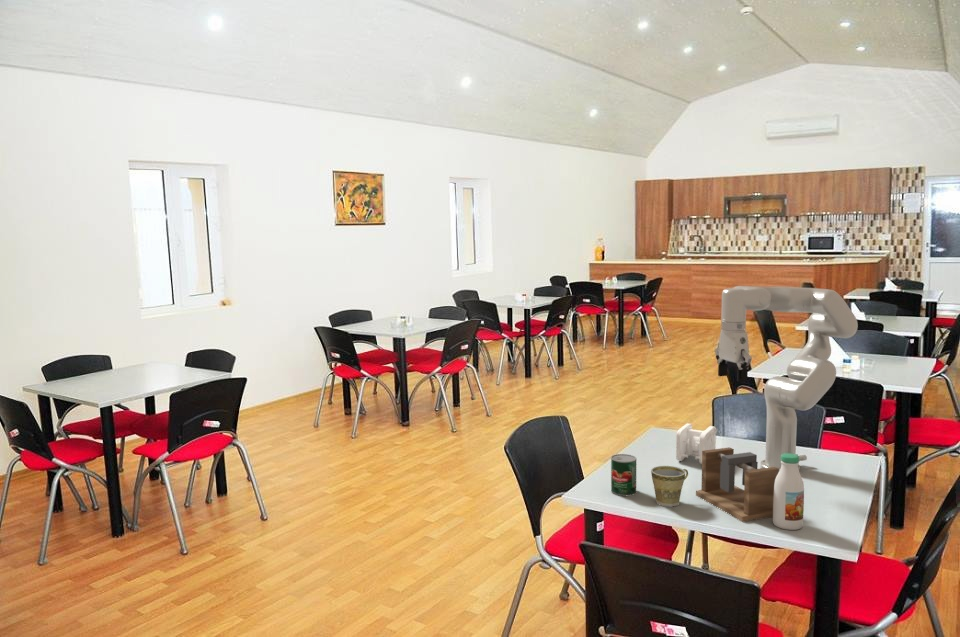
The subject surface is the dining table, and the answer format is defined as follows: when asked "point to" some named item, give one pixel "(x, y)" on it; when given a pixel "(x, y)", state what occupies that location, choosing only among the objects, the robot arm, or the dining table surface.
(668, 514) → the dining table surface
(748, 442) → the dining table surface
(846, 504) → the dining table surface
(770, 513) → the wooden rod bracket
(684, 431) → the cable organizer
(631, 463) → the canned tomato
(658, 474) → the ceramic cup
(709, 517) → the dining table surface
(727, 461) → the grey arch block
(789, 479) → the milk bottle
